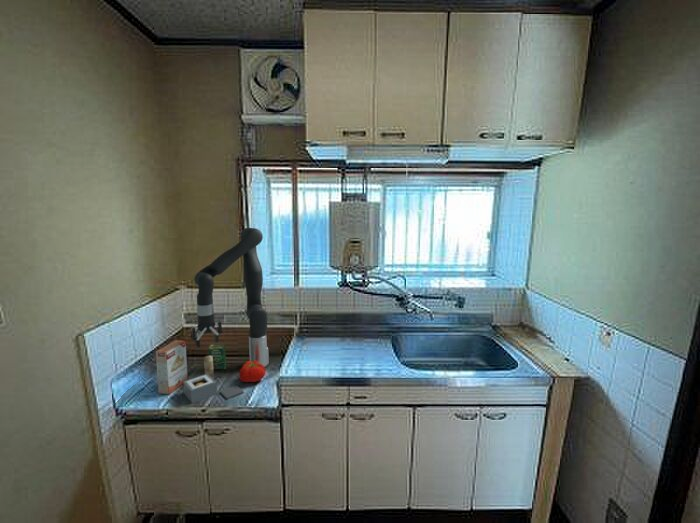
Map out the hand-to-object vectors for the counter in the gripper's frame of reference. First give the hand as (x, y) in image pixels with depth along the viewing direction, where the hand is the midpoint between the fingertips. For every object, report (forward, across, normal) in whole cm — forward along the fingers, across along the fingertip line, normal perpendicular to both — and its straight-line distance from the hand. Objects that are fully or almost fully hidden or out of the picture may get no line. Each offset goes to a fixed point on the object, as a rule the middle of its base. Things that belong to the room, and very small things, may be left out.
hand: (207, 344), depth 163 cm
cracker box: (+19, +15, -5) cm, 25 cm away
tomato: (+19, -16, +15) cm, 29 cm away
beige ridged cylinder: (+19, 0, 0) cm, 19 cm away
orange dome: (+17, +8, +10) cm, 21 cm away
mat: (+19, -3, +19) cm, 27 cm away
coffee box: (+19, -8, -9) cm, 22 cm away
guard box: (+19, +8, +10) cm, 23 cm away
